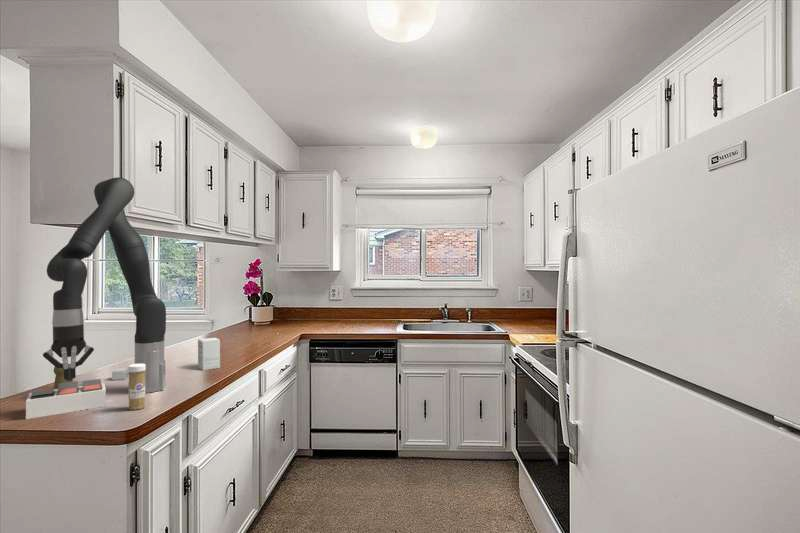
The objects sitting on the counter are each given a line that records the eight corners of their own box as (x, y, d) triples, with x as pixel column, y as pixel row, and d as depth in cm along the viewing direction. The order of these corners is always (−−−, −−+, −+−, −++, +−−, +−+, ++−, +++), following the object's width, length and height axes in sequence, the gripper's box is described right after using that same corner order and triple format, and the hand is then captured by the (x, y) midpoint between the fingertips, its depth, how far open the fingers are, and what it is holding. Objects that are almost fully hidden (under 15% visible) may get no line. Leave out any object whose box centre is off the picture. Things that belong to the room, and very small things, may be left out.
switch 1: (53, 393, 135) (53, 389, 135) (52, 393, 130) (52, 388, 130) (33, 396, 132) (33, 391, 132) (31, 396, 127) (31, 391, 127)
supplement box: (215, 365, 194) (215, 337, 194) (220, 368, 189) (220, 339, 189) (197, 367, 190) (197, 338, 190) (202, 370, 184) (202, 341, 184)
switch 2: (100, 382, 142) (100, 378, 142) (101, 391, 137) (101, 387, 136) (82, 384, 139) (82, 380, 139) (82, 394, 134) (82, 390, 133)
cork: (78, 393, 150) (78, 362, 150) (65, 399, 144) (66, 365, 144) (60, 394, 150) (60, 362, 150) (47, 399, 144) (47, 366, 144)
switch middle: (77, 384, 138) (77, 380, 138) (77, 396, 133) (77, 392, 133) (58, 386, 136) (58, 382, 135) (57, 399, 130) (57, 394, 130)
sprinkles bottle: (133, 411, 131) (133, 366, 131) (125, 409, 133) (125, 365, 133) (148, 407, 135) (148, 363, 135) (140, 405, 137) (140, 362, 137)
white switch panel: (104, 398, 144) (104, 383, 144) (105, 406, 136) (105, 389, 136) (29, 409, 133) (29, 392, 133) (25, 419, 125) (25, 401, 125)
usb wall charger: (116, 378, 172) (116, 368, 172) (135, 377, 173) (135, 367, 173) (112, 380, 168) (112, 370, 168) (131, 379, 170) (131, 369, 170)
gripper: (94, 320, 139) (95, 374, 139) (40, 324, 131) (42, 381, 131) (95, 322, 133) (96, 379, 133) (39, 327, 125) (41, 387, 125)
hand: (69, 380), depth 132 cm, fingers closed
